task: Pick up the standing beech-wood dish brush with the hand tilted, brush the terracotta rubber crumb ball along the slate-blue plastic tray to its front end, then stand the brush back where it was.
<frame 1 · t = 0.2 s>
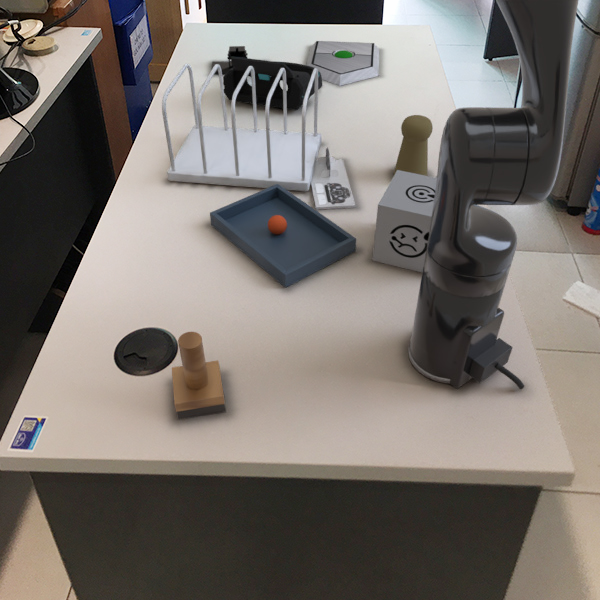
icon cube: (412, 250, 97), on the table
security device: (342, 66, 148), on the table
tray: (281, 237, 99), on the table
black block: (238, 68, 147), on the table
crumb ball: (277, 224, 98), point 2 cm above the table, touching tray
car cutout: (329, 185, 110), on the table, touching file sorter
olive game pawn: (410, 176, 112), on the table
virtual reality headset: (277, 94, 137), on the table
brush: (199, 397, 76), on the table
file sorter: (247, 162, 116), on the table, touching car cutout
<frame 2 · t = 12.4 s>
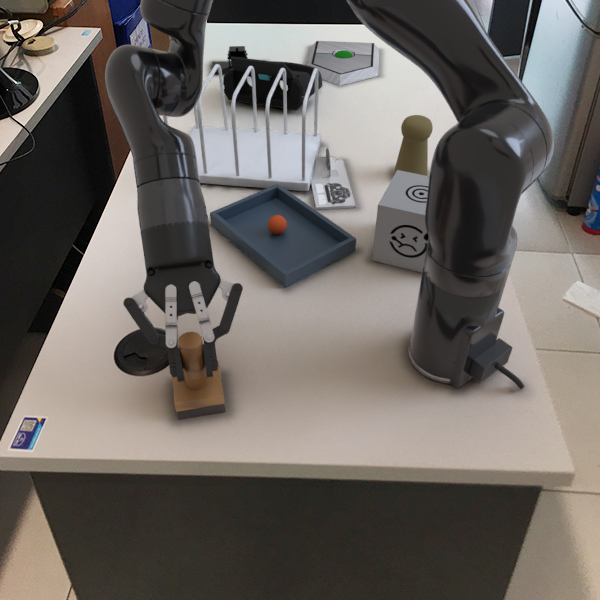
hand: (195, 378, 70), 6 cm above the table, tool tilted 45°, fingers closed on brush, 2 cm apart
brush: (199, 397, 76), on the table, touching gripper
everything else where it was.
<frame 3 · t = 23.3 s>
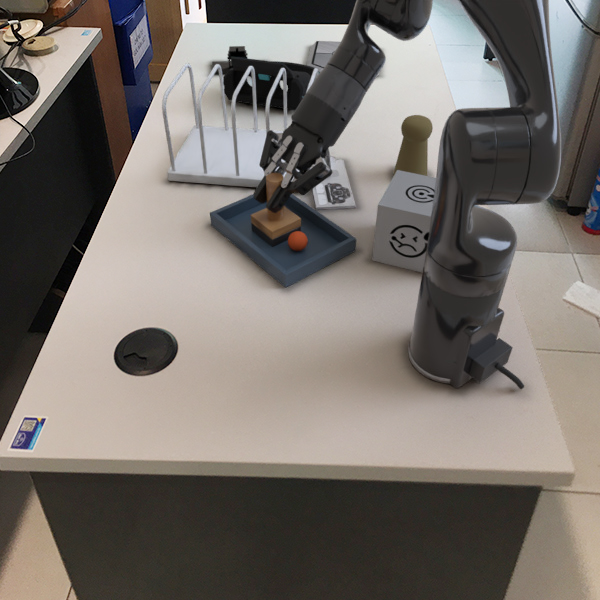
hand: (264, 205, 94), 6 cm above the table, tool tilted 45°, fingers closed on brush, 2 cm apart
crumb ball: (297, 241, 95), point 2 cm above the table, tilted 161°, touching tray
brush: (276, 232, 99), resting in tray, touching gripper
everything else where it was.
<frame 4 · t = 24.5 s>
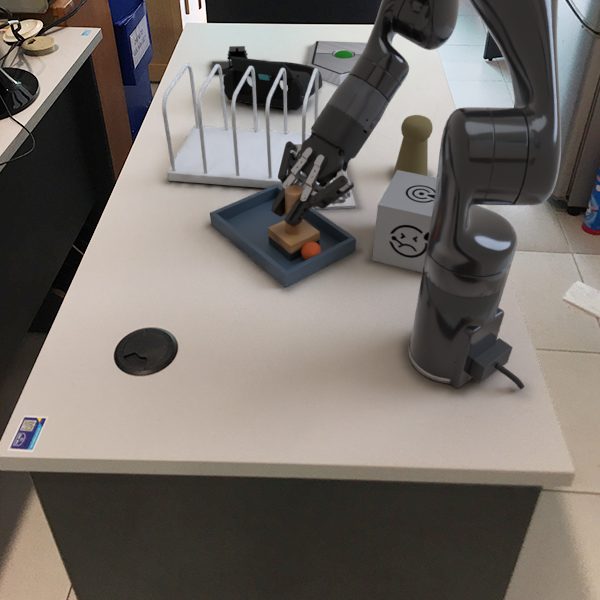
hand: (283, 218, 92), 6 cm above the table, tool tilted 45°, fingers closed on brush, 2 cm apart
crumb ball: (311, 251, 93), point 2 cm above the table, tilted 37°, touching brush, tray
brush: (293, 245, 97), resting in tray, touching crumb ball, gripper
everything else where it was.
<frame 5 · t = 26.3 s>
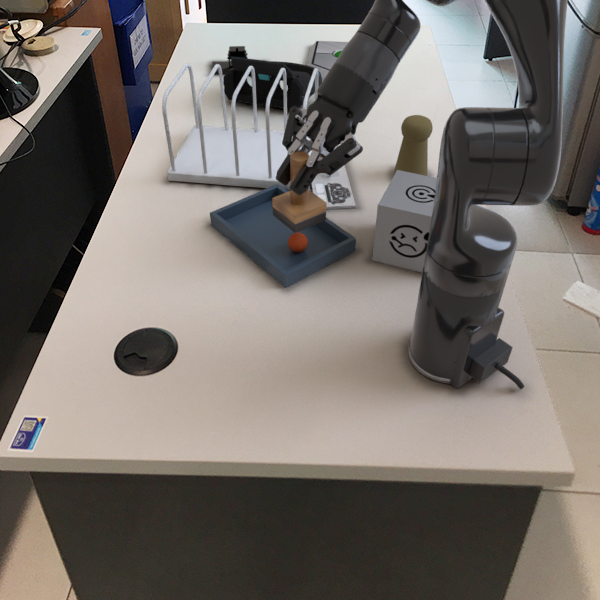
hand: (288, 186, 87), 12 cm above the table, tool tilted 45°, fingers closed on brush, 2 cm apart
crumb ball: (297, 242, 95), point 2 cm above the table, tilted 117°, touching tray
brush: (299, 217, 92), point 6 cm above the table, touching gripper
everything else where it was.
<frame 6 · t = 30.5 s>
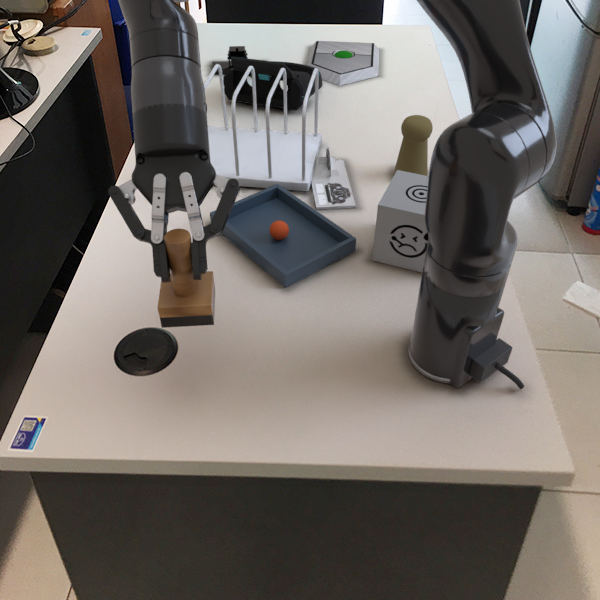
hand: (182, 279, 64), 18 cm above the table, tool tilted 45°, fingers closed on brush, 2 cm apart
crumb ball: (279, 230, 97), point 2 cm above the table, tilted 76°, touching tray
brush: (189, 308, 70), point 12 cm above the table, touching gripper
everything else where it was.
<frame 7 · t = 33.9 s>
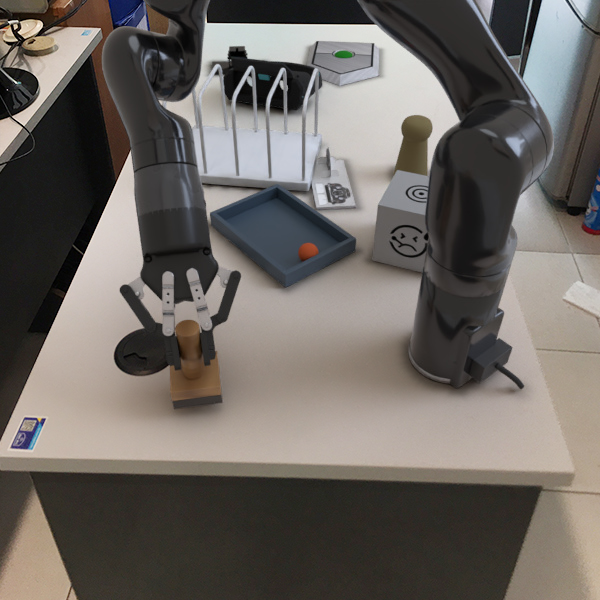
hand: (193, 366, 69), 8 cm above the table, tool tilted 45°, fingers closed on brush, 2 cm apart
crumb ball: (308, 253, 93), point 2 cm above the table, tilted 10°, touching tray
brush: (197, 387, 74), point 2 cm above the table, touching gripper
everything else where it was.
when the fingers open (6 cm above the table, at t = 34.7 s): brush stays where it is, on the table.
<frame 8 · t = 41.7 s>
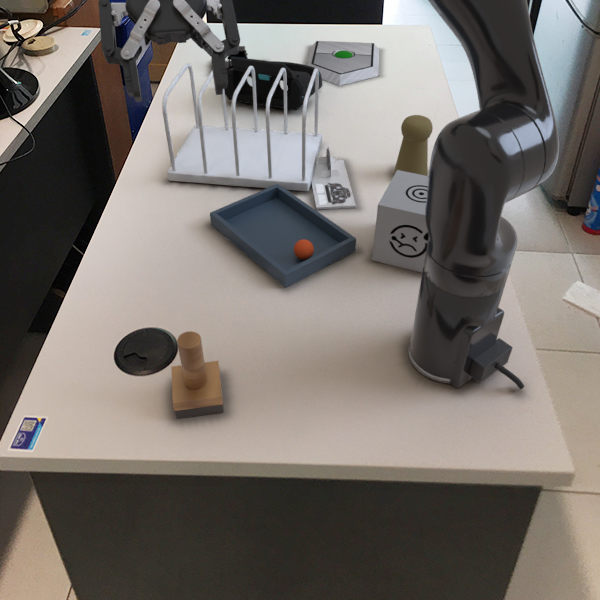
hand: (179, 95, 66), 31 cm above the table, tool tilted 45°, fingers open, 8 cm apart
crumb ball: (303, 249, 94), point 2 cm above the table, tilted 51°, touching tray
brush: (198, 397, 76), on the table
everything else where it was.
at the end: crumb ball inside the target area in the tray (0.8 cm from its centre), point 1.9 cm above the tray's base; brush inside the target area (0.1 cm from its centre), on the table; brush tilted 0° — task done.
